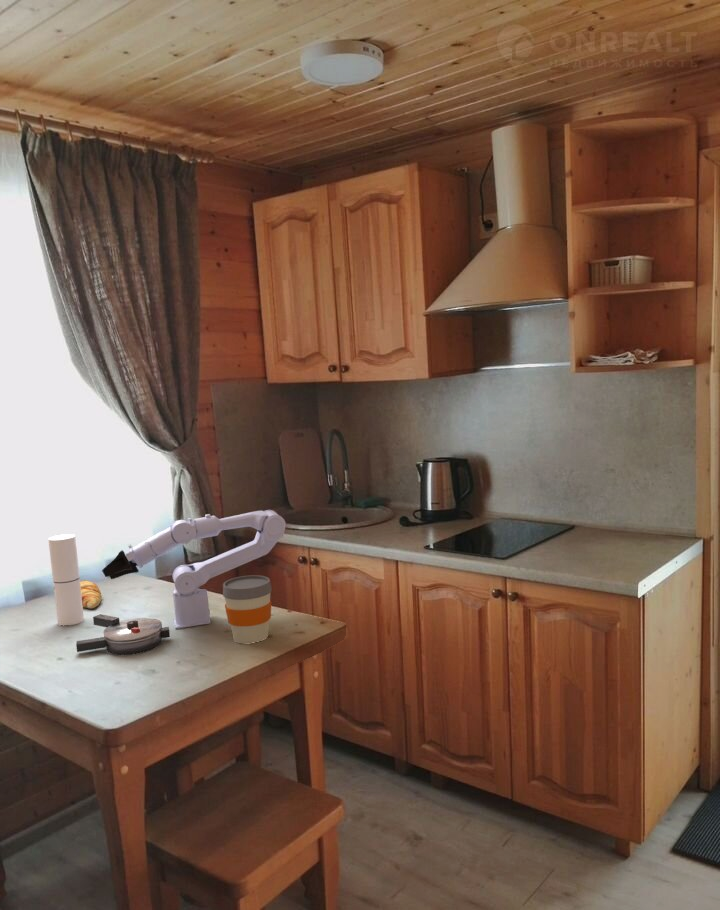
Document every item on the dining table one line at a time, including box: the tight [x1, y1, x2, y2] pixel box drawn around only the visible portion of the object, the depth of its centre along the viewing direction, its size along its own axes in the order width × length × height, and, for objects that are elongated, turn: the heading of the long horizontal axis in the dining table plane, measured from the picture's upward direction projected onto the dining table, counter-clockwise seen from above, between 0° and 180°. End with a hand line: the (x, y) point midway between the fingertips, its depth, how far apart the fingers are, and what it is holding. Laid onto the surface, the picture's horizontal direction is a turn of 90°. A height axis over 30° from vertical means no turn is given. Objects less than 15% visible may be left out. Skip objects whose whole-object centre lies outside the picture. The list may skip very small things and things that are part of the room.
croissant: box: [80, 580, 103, 609], centre depth 238 cm, size 21×10×8 cm, turn 36°
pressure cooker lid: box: [92, 614, 163, 642], centre depth 199 cm, size 21×15×2 cm
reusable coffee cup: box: [222, 574, 273, 644], centre depth 197 cm, size 13×12×15 cm
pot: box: [75, 626, 171, 656], centre depth 197 cm, size 23×14×4 cm, turn 108°
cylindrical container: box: [48, 533, 85, 627], centre depth 218 cm, size 7×7×25 cm
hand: (106, 574), depth 204 cm, fingers open, 7 cm apart
